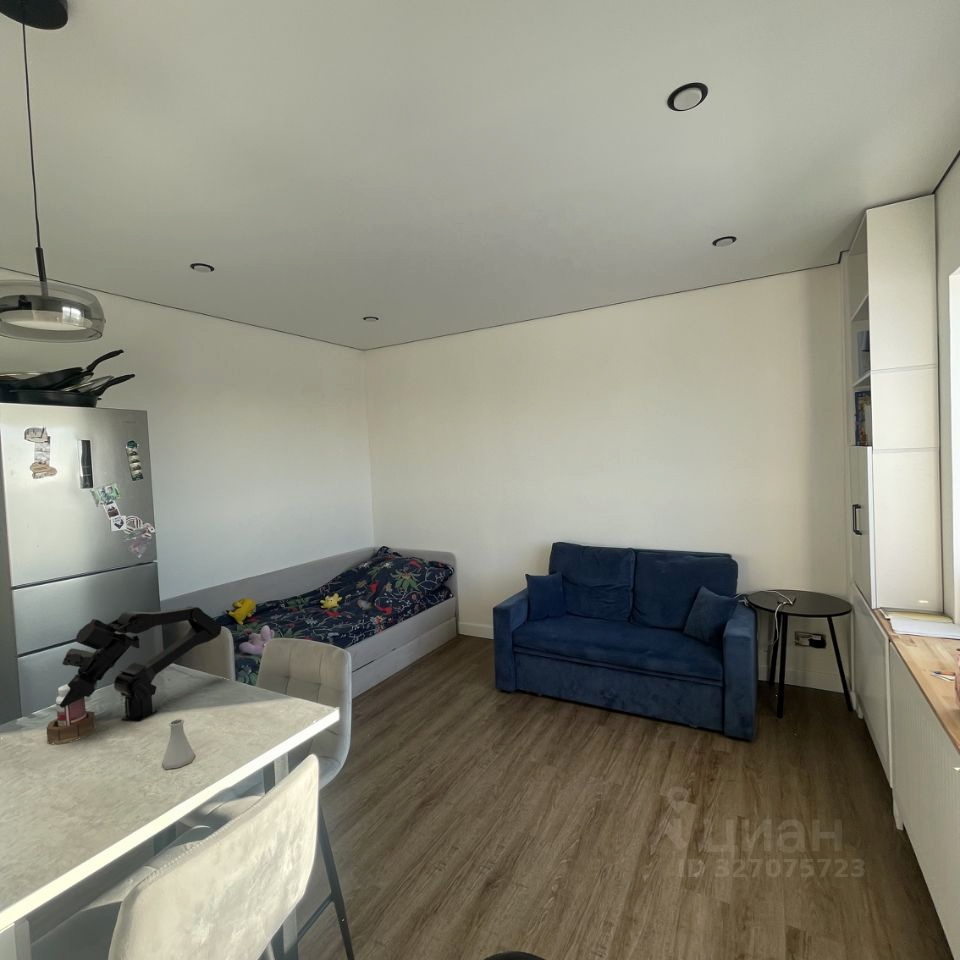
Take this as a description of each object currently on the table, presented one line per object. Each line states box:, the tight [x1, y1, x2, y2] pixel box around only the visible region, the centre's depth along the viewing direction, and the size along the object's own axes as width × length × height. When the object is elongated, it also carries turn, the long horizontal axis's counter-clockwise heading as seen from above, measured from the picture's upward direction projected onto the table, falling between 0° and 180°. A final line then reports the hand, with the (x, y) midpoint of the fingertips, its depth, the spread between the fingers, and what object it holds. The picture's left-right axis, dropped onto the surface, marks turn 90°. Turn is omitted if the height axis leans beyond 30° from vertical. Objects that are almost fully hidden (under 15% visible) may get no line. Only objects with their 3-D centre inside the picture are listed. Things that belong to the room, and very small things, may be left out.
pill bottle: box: [55, 683, 87, 727], centre depth 142 cm, size 6×6×11 cm
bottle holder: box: [46, 710, 97, 745], centre depth 142 cm, size 10×10×4 cm
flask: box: [161, 718, 196, 770], centre depth 126 cm, size 7×7×10 cm
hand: (64, 701), depth 141 cm, fingers closed on pill bottle, 6 cm apart
